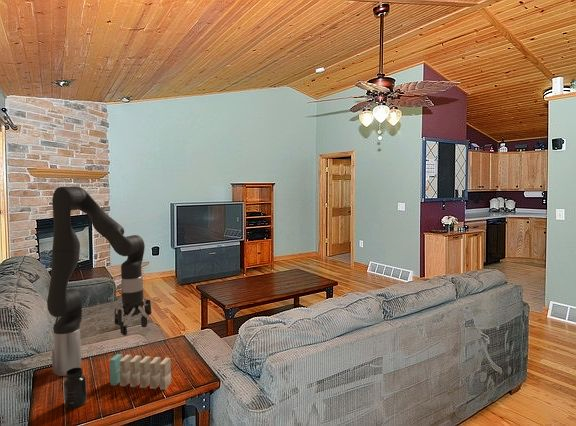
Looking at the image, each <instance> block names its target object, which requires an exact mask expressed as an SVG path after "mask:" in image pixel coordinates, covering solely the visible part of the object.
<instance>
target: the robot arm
mask: <svg viewBox="0 0 576 426" xmlns="http://www.w3.org/2000/svg"><path fill="white" fill-rule="evenodd" d="M51 200H52V201H51V203H52V216H53V217H52V218H53V233H52V234H53V236H52V237H53V239H52V240H53V241H52V248H51V250H52V253H51V270H50V271H51V272H50V273H51V274H50V281H49V282H50V283H49V289H48V294H47V300H46V307H47V312H48V313H49V314H50V315H51V316H52V317H55V318H59V319H58V320H57V321H56V322H55V323H54V324H53V327H52V328H53V331H52V332H53V349H52V350H51V361H52V363H51V364H52V372H53V374H54V375H57V376H59V377H62V376H63V377H65V376H66V372H67V371H68V370H70V369H72V368H81V369H82V352H81V351H82V350H81V348H82V347H81V345H82V344H81V322H82V318H83V299H82V296H81V293H80V291H78V290H77V289H75V288H69V289H68V283H69V281H70V278H71V276H72V275H73V273H74V271H75V269H76V267H77V266H78V263H79V260H80V255H81V254H80V253H81V252H80V251H81V249H80V248H81V243H80V239H79V238H78V236H77V234H76V232H75V231H74V228H73V227H72V224H71V223H72V222H71V221H72V220H71V215H72V211H77V210H79V211H81V212H82V213H85V215H87V216H88V217H89V218H90V221H91V224H92V227H93V228H94V229H95V231H96V232H97V233H98V234H99V235H100V236H102V237H103V238H104V239H106V240H107V242H108V243H109V245H110V246H111V247H112V248H113V250H114V252H115V253H116V254H118V255H119V256H122V257H127V259H126V260H125V261H123V263H121V266H120V274H121V282H120V289H121V303H122V306H121V307H120V308H117V307H116V308H114V325H115V326H119V329H120V334H121V335H122V336H127V335H128V328H127V327H128V325H127V324H128V322H129V321H130V319H131V318H133V317H134V316H138V315H140V324H141V325H140V326H141V327H142V328H147V326H148V317H149V315H150V316H151V315H152V305H151V304H152V302H151V299H147V298H144V281H143V276H142V272H143V270H142V263H143V260H144V259H143V258H144V255H145V254H144V253H145V249H146V248H145V247H146V246H145V241H144V239H143V238H142V237H141V236H140V235H138V234H133V235H127V236H125V229H124V227H123V226H122V225H121V224H120V223H119V222H117V221H116V220H115V219H113V218H112V217H111V216H110V215H109V214H108V213H106V212H105V211H104V210H103V208H101V206H100V205H99V204H98V203H97V202H96V201H95V200H94V198H93V197H92V196H91V195H90V193H89V192H87V191H86V189H84V188H83V187H80V186H73V185H72V186H59V187H57V188H55V190H54V192H53V194H52V199H51ZM143 307H144V309H143Z"/></svg>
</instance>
